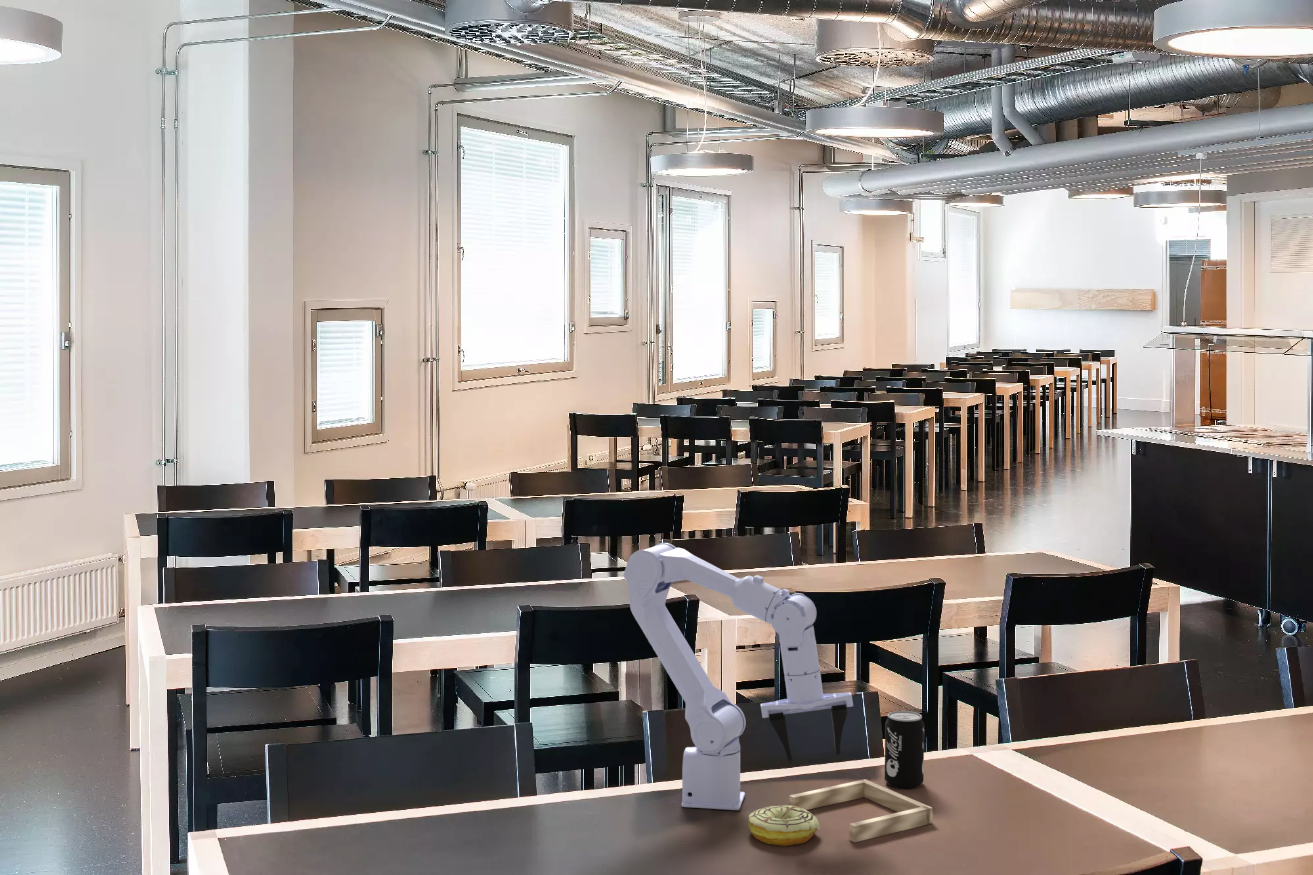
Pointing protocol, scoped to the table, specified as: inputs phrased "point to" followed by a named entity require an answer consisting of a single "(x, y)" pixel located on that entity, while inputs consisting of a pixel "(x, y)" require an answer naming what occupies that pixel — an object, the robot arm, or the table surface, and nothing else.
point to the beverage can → (904, 749)
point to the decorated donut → (783, 825)
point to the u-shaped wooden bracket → (907, 808)
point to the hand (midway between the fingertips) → (813, 756)
